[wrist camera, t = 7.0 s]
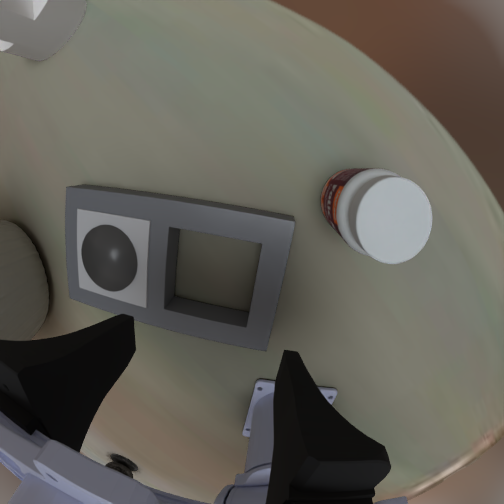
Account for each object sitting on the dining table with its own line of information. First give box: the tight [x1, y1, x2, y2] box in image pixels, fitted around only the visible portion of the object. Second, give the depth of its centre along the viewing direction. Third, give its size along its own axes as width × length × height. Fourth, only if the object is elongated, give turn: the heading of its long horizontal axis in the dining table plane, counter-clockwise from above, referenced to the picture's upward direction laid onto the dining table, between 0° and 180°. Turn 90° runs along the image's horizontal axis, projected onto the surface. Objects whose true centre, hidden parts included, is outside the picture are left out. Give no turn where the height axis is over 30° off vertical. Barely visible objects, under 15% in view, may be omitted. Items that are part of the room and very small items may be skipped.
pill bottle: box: [321, 168, 432, 264], centre depth 15 cm, size 5×5×8 cm
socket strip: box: [65, 185, 295, 351], centre depth 20 cm, size 10×18×3 cm, turn 80°
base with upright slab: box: [0, 0, 87, 61], centre depth 10 cm, size 9×9×12 cm
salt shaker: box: [106, 454, 138, 478], centre depth 28 cm, size 6×6×12 cm
